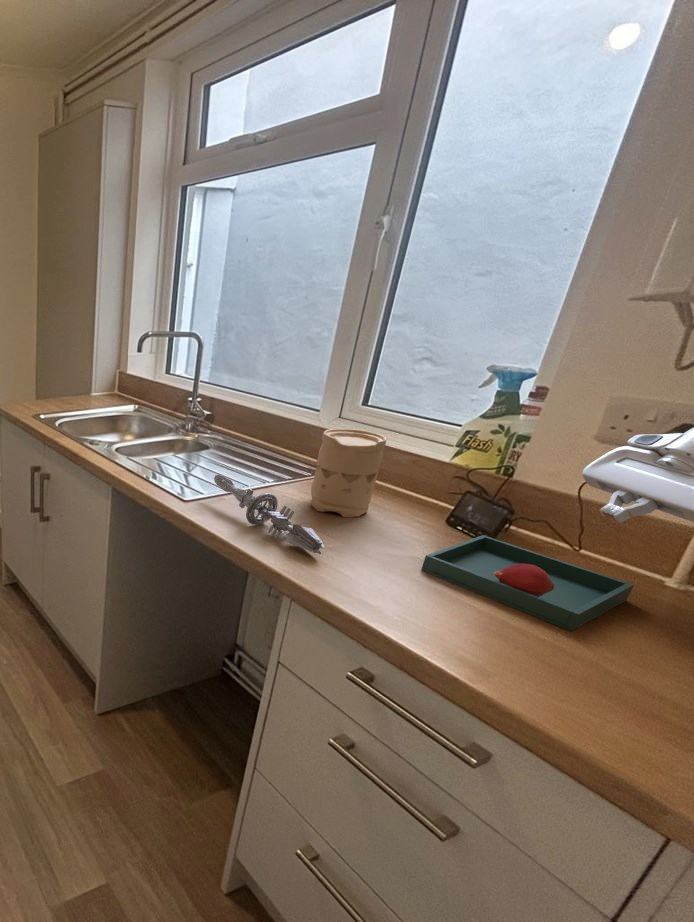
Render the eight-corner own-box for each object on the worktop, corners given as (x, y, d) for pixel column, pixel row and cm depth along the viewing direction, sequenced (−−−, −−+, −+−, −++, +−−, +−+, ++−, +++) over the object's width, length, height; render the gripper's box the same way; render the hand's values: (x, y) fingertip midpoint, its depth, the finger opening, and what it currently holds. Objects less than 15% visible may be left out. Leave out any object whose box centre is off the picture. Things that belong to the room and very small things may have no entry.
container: (372, 520, 120) (392, 444, 113) (310, 513, 124) (327, 439, 118) (361, 501, 131) (380, 431, 124) (305, 495, 135) (320, 426, 128)
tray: (626, 600, 89) (634, 584, 88) (571, 631, 81) (578, 614, 80) (478, 548, 107) (483, 534, 106) (420, 569, 99) (425, 555, 98)
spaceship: (234, 466, 132) (211, 458, 129) (345, 537, 102) (319, 528, 99) (217, 494, 135) (195, 486, 131) (322, 570, 105) (296, 563, 102)
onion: (539, 603, 89) (481, 588, 93) (548, 570, 89) (490, 557, 93) (558, 605, 84) (496, 590, 87) (568, 571, 84) (506, 556, 87)
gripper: (791, 497, 75) (687, 557, 79) (641, 456, 94) (563, 506, 98) (774, 467, 73) (668, 529, 78) (625, 432, 92) (547, 484, 97)
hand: (609, 516), depth 88 cm, fingers closed
